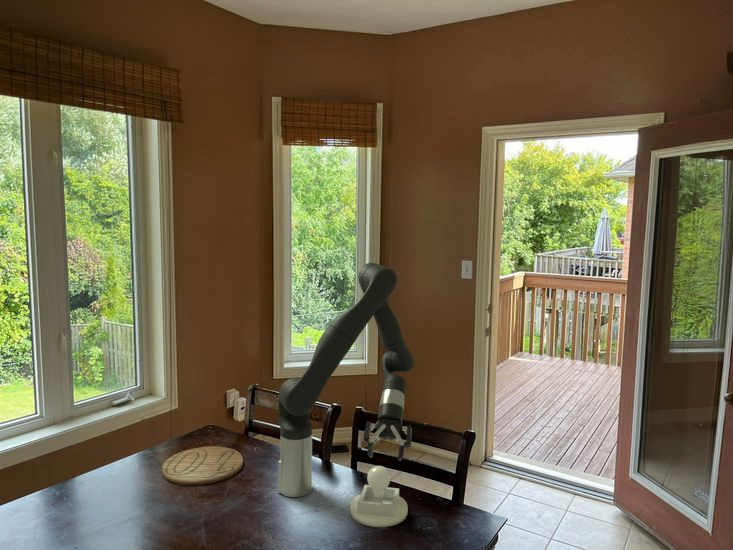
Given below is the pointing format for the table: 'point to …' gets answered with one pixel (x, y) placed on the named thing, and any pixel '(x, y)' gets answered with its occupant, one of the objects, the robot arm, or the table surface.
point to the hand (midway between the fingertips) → (384, 458)
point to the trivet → (202, 465)
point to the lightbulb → (378, 482)
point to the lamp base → (379, 508)
